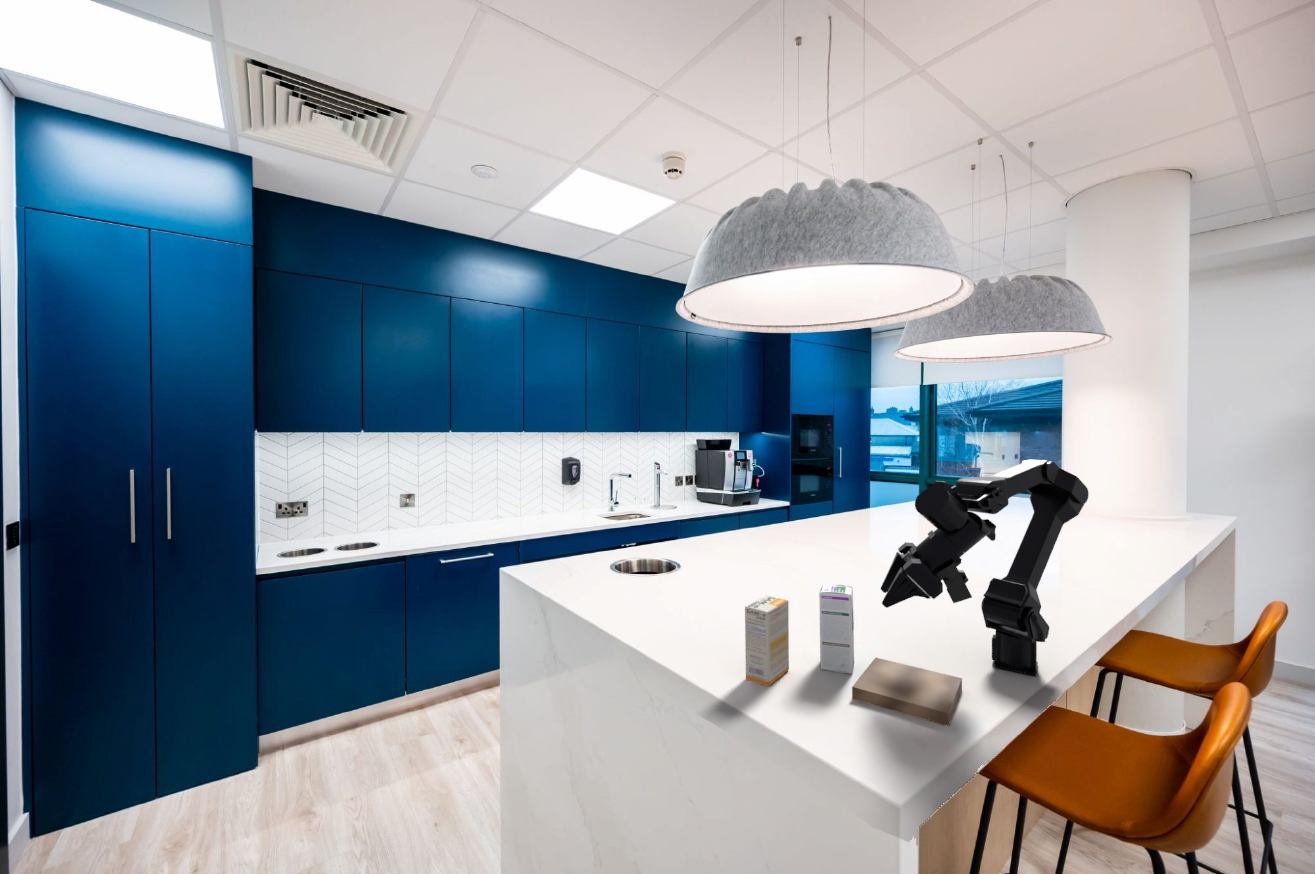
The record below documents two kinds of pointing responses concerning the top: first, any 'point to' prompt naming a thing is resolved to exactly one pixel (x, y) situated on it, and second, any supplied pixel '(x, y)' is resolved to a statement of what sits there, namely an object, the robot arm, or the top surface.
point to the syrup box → (836, 628)
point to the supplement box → (767, 639)
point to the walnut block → (909, 690)
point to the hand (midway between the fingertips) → (883, 597)
